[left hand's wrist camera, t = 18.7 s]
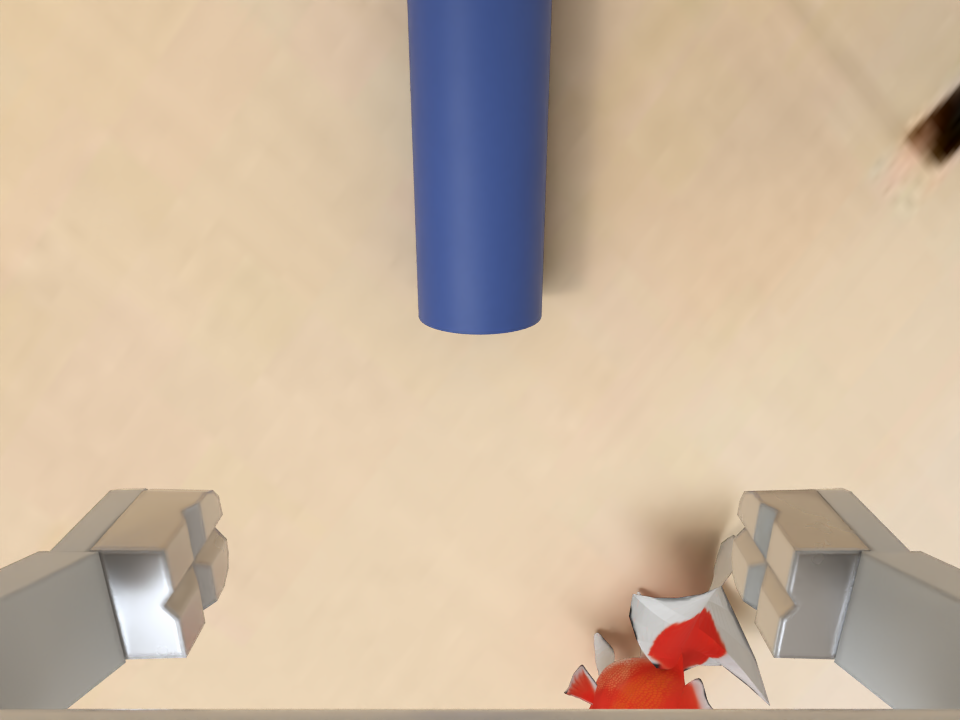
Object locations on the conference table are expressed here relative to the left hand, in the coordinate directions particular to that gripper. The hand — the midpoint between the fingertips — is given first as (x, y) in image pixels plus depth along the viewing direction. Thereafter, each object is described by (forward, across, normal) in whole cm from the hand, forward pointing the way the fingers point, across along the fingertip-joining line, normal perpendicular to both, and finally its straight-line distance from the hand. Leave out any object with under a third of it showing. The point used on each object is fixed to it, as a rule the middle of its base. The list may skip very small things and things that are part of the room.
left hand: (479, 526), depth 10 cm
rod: (+25, 0, -8) cm, 27 cm away
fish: (+25, -11, +24) cm, 36 cm away
